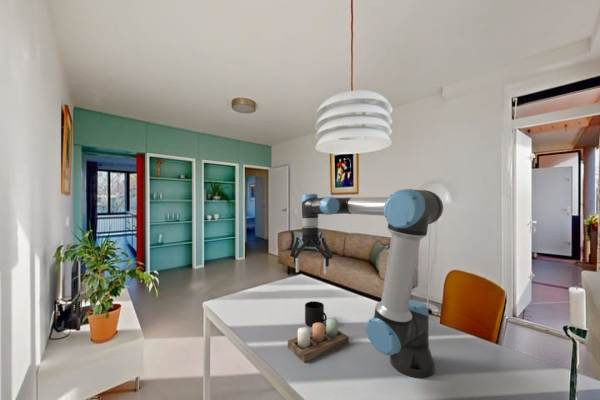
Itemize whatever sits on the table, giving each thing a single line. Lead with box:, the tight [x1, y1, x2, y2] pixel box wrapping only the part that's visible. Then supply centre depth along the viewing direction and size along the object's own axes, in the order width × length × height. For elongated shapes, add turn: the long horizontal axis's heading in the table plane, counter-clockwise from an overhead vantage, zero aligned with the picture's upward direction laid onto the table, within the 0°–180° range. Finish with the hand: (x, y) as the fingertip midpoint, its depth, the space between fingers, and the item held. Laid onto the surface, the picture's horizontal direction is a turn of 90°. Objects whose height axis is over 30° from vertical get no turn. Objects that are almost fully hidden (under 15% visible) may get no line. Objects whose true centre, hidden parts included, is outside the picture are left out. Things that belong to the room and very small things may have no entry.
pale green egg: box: [325, 317, 339, 338], centre depth 111 cm, size 5×5×6 cm
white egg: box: [297, 326, 311, 350], centre depth 102 cm, size 5×5×6 cm
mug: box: [304, 300, 328, 328], centre depth 126 cm, size 9×12×9 cm
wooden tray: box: [287, 326, 350, 364], centre depth 106 cm, size 12×23×3 cm, turn 123°
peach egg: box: [312, 323, 325, 344], centre depth 106 cm, size 5×5×6 cm
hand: (311, 272), depth 118 cm, fingers open, 13 cm apart
